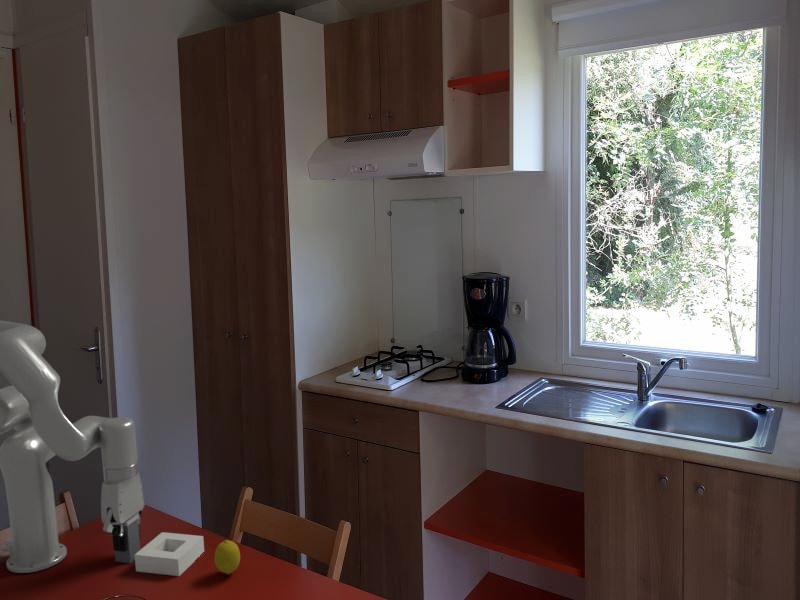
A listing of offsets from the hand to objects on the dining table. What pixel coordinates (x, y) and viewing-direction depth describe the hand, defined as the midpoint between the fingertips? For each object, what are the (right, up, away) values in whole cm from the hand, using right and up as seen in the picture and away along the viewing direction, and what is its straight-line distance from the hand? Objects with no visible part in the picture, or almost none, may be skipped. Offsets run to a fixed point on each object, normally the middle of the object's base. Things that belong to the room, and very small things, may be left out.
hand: (127, 544), depth 161 cm
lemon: (+26, -4, -8) cm, 27 cm away
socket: (+11, -3, -2) cm, 12 cm away
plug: (0, -3, 0) cm, 3 cm away
